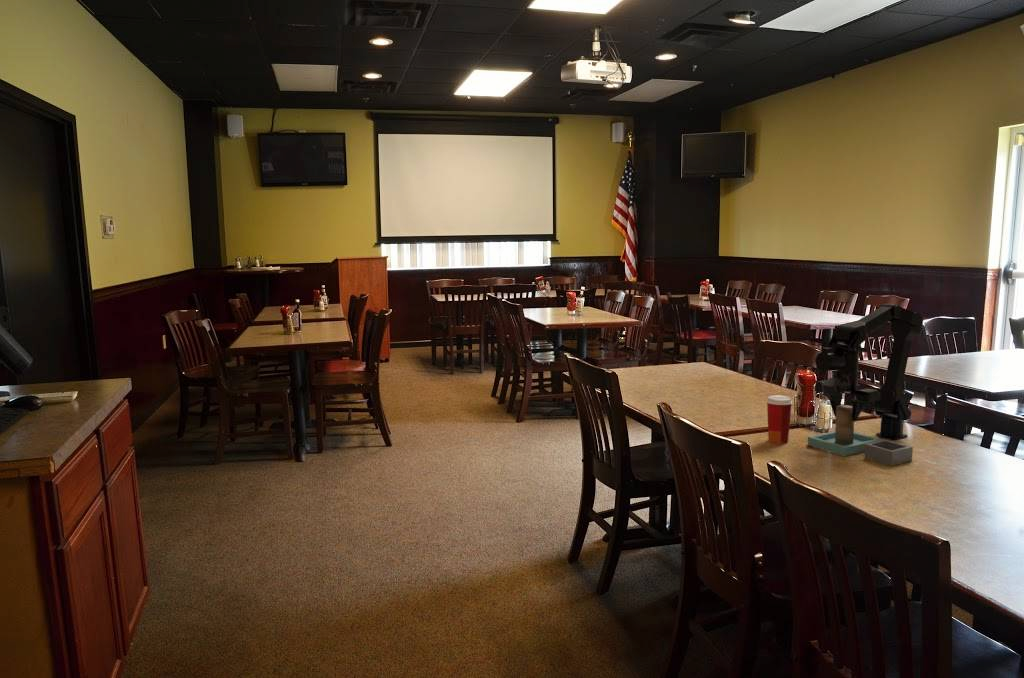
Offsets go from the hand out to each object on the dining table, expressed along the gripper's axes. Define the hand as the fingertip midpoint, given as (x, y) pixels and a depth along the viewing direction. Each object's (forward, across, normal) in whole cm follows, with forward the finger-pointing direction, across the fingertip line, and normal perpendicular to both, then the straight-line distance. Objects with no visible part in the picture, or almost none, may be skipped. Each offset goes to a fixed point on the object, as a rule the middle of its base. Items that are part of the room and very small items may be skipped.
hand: (845, 418), depth 215 cm
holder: (+8, +14, 0) cm, 17 cm away
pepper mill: (+7, 0, 0) cm, 7 cm away
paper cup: (+9, -14, -13) cm, 21 cm away
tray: (+8, 0, 0) cm, 9 cm away
